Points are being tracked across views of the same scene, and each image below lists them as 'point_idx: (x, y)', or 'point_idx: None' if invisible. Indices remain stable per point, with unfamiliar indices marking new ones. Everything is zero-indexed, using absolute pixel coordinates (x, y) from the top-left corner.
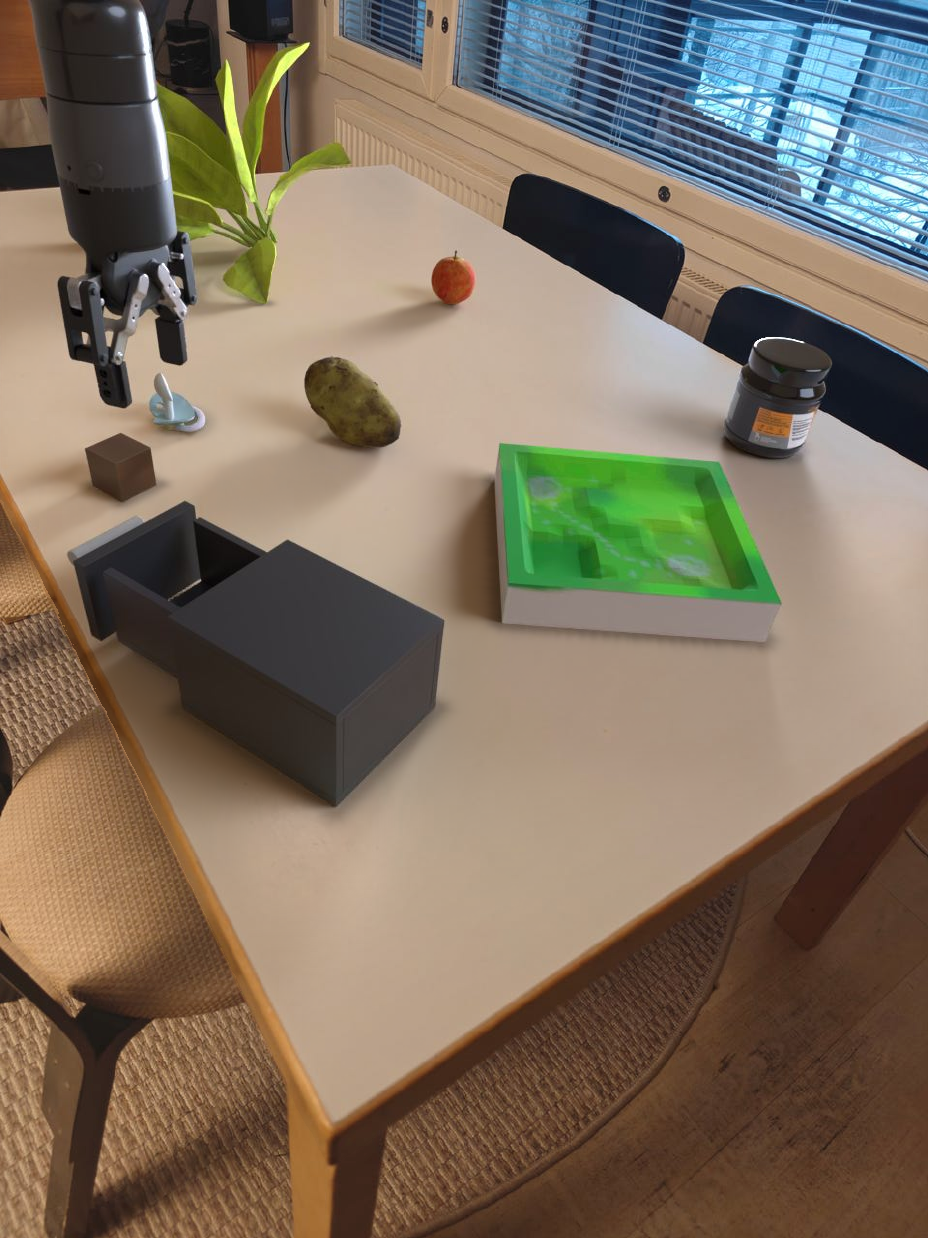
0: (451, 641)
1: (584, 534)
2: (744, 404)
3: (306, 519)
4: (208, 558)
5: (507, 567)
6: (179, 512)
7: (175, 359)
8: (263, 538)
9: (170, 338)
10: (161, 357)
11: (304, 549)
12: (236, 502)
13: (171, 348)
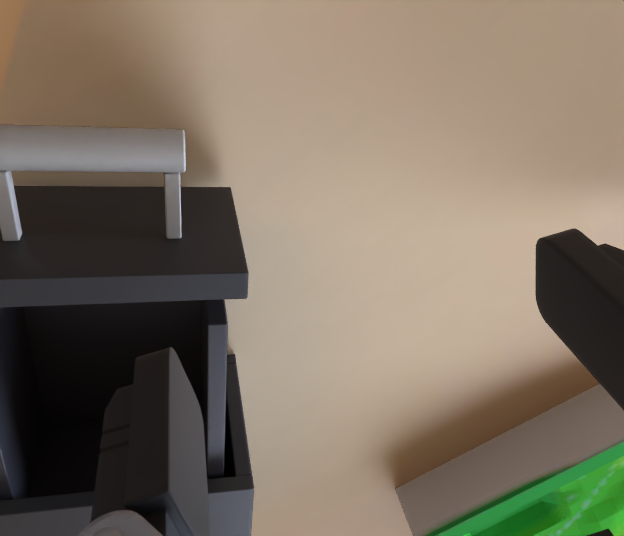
0: (334, 476)
1: (571, 509)
2: None
3: (482, 199)
4: (203, 304)
5: (445, 529)
6: (206, 296)
7: (548, 295)
8: (396, 183)
9: (598, 343)
10: (544, 244)
11: (248, 516)
12: (474, 59)
13: (572, 313)
